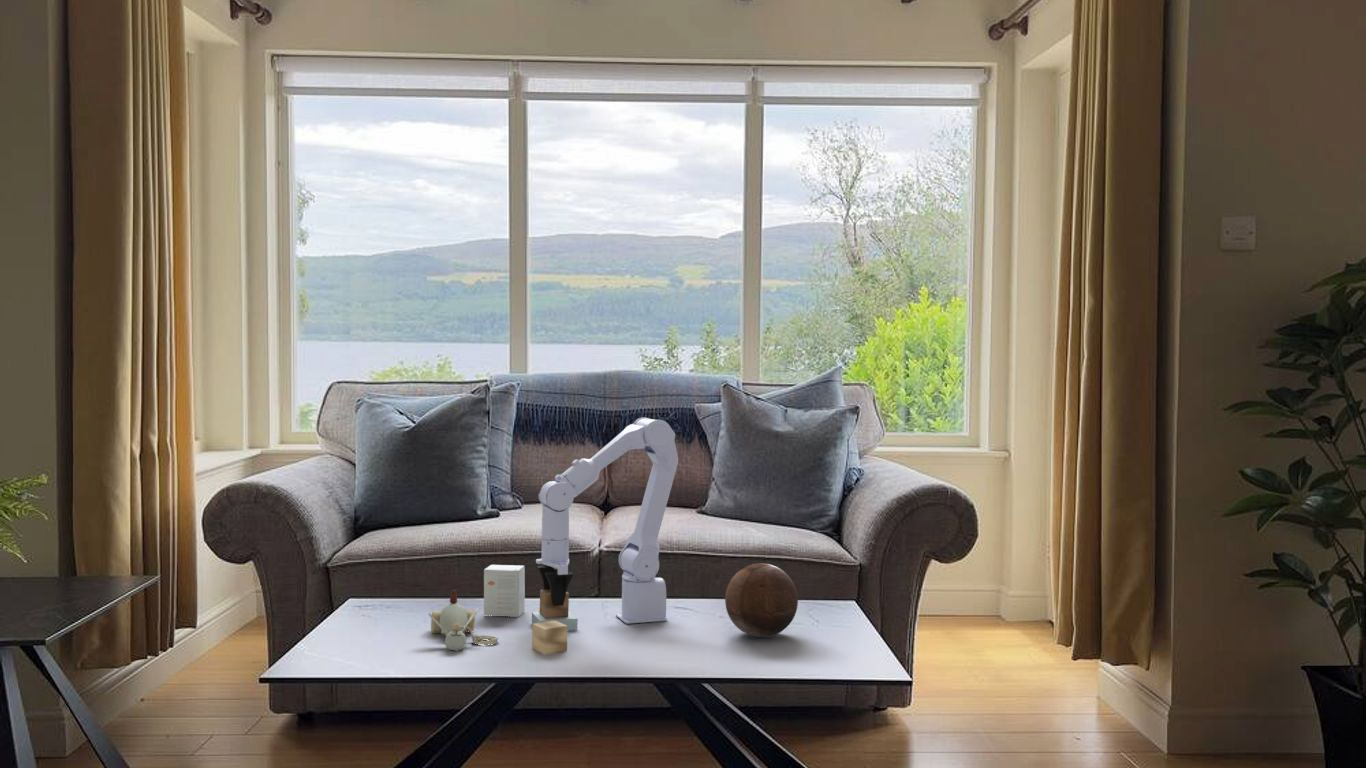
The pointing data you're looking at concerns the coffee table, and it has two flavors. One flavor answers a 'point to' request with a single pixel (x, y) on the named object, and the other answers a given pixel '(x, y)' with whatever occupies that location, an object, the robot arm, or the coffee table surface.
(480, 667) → the coffee table surface
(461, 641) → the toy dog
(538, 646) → the oak cube
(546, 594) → the walnut cube
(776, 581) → the wooden sphere
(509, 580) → the small box
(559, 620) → the slab
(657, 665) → the coffee table surface
